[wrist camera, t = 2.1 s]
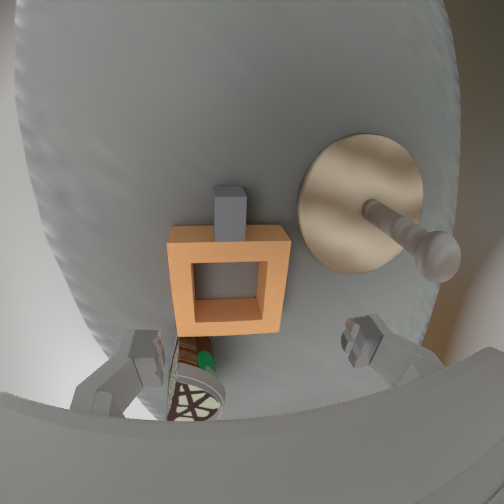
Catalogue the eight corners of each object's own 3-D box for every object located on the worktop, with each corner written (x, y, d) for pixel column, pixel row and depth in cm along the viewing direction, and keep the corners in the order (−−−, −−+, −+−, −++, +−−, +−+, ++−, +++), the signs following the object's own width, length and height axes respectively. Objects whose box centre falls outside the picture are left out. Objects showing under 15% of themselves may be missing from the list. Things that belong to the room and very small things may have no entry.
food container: (208, 379, 38) (212, 436, 29) (167, 373, 36) (164, 431, 27) (231, 321, 33) (241, 386, 24) (182, 311, 31) (178, 378, 22)
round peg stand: (304, 123, 24) (399, 134, 11) (424, 147, 26) (521, 180, 14) (288, 270, 31) (338, 369, 18) (399, 264, 33) (466, 332, 21)
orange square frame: (271, 309, 33) (278, 331, 30) (180, 313, 31) (178, 336, 28) (284, 186, 26) (296, 197, 23) (169, 186, 25) (163, 198, 21)
